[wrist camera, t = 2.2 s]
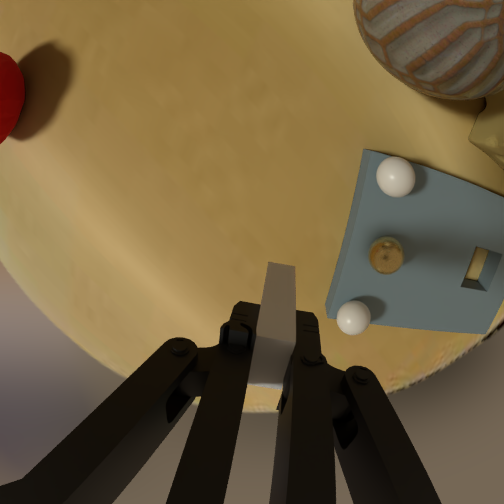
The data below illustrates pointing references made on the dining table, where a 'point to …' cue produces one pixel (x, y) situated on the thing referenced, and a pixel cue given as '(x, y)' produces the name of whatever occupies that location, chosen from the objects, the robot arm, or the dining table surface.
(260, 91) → the dining table surface
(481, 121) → the cheese
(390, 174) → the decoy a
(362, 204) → the plate
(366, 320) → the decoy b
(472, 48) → the vase
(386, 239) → the ball
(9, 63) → the tomato
